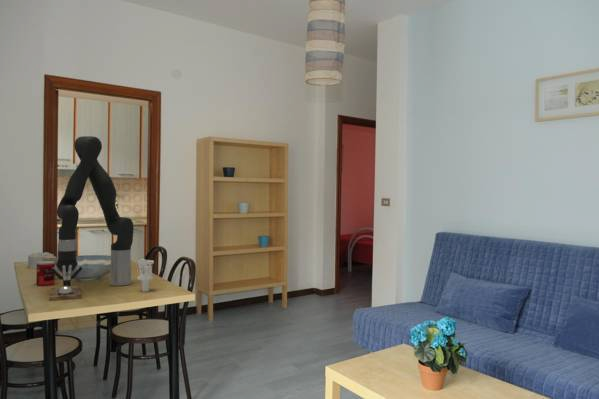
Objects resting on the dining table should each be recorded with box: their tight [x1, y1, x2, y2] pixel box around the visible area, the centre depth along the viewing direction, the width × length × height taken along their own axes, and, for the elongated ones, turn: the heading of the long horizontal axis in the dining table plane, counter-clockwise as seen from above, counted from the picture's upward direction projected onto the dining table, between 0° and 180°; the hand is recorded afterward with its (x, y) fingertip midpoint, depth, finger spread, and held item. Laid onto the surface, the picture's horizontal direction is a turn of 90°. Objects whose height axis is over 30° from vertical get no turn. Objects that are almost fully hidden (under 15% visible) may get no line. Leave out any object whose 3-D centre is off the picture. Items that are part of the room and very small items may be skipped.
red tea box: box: [42, 255, 58, 280], centre depth 236 cm, size 6×8×12 cm
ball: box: [59, 286, 72, 295], centre depth 198 cm, size 5×5×5 cm
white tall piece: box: [137, 258, 155, 293], centre depth 214 cm, size 7×7×15 cm
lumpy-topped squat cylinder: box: [27, 251, 55, 270], centre depth 274 cm, size 10×13×9 cm
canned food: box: [36, 261, 56, 287], centre depth 224 cm, size 8×8×11 cm
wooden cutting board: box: [48, 285, 82, 302], centre depth 203 cm, size 12×20×2 cm, turn 26°
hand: (66, 288), depth 205 cm, fingers closed
